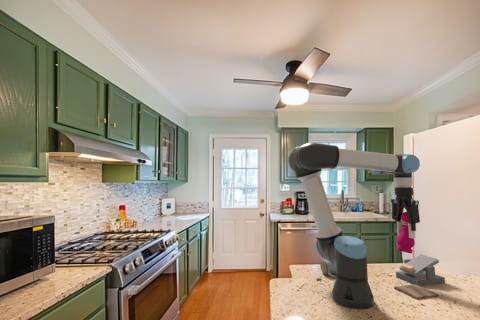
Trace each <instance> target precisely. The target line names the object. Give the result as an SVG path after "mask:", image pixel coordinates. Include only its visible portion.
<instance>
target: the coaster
mask: <svg viewBox="0 0 480 320" xmlns="http://www.w3.org/2000/svg"><path fill="white" fill-rule="evenodd" d="M393 289H394V290H396V291H398V292H400V293H402V294H405V295H406V296H408V297H410V298H411V299H412V298H413V299H415V300H421V299H422V300H424V299H428V298H431V299H432V298H438V297H440V294H439V293H436V292H434V291H431V290H429V289H427V288H425V287H423V286H418V285H415V284H414V285H413V284H407V285H399V286H398V285H397V286H393Z"/></svg>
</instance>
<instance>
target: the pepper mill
mask: <svg viewBox="0 0 480 320" xmlns="http://www.w3.org/2000/svg"><path fill="white" fill-rule="evenodd" d="M401 220H402V223H401V224H402V230H401V232H400V234H399V235H397V238H396V241H395V242H396V243H397V246H396V250H397V251H399V252H403V253H407V254H411V255H412V254H413V253H414V250H413V248H414V247H415V244H416V242H415V238H409V227H408V224H409V222H410V221H409V218H408V215H407V211H403V213H402V215H401ZM412 221H413V220H412Z"/></svg>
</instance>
